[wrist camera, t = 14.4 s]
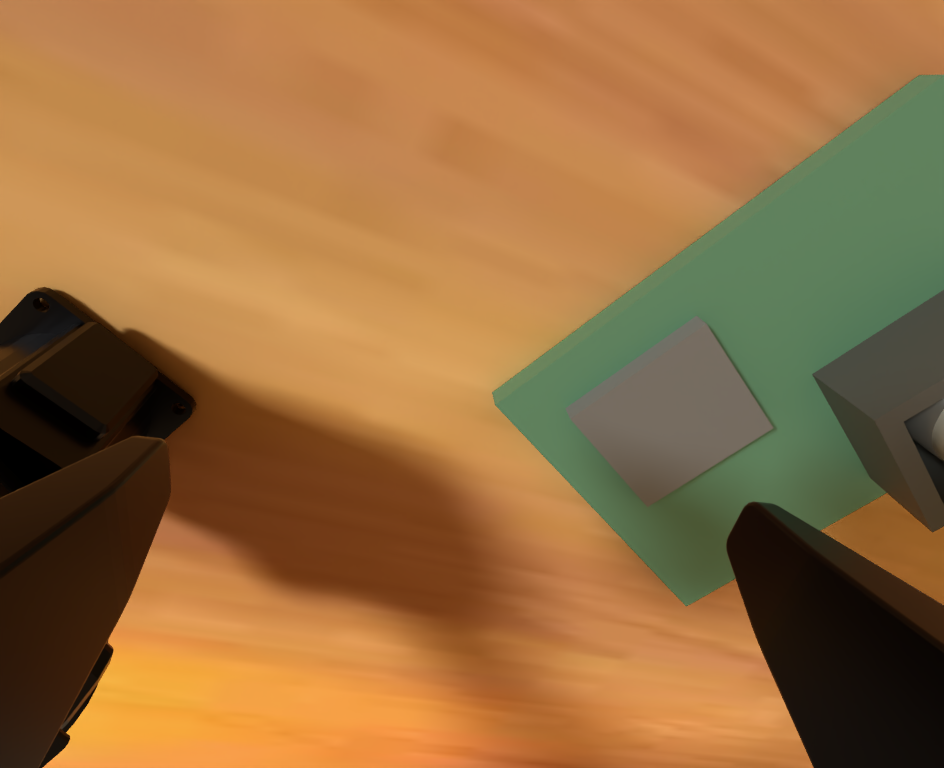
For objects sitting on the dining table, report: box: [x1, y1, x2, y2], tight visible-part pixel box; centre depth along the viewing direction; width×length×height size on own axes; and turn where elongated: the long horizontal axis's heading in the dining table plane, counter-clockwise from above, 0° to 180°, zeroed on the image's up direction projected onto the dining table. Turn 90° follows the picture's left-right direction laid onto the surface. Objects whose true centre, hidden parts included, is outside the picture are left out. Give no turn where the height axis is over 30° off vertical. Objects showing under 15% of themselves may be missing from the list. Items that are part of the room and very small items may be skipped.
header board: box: [492, 75, 944, 606], centre depth 22 cm, size 18×16×4 cm
